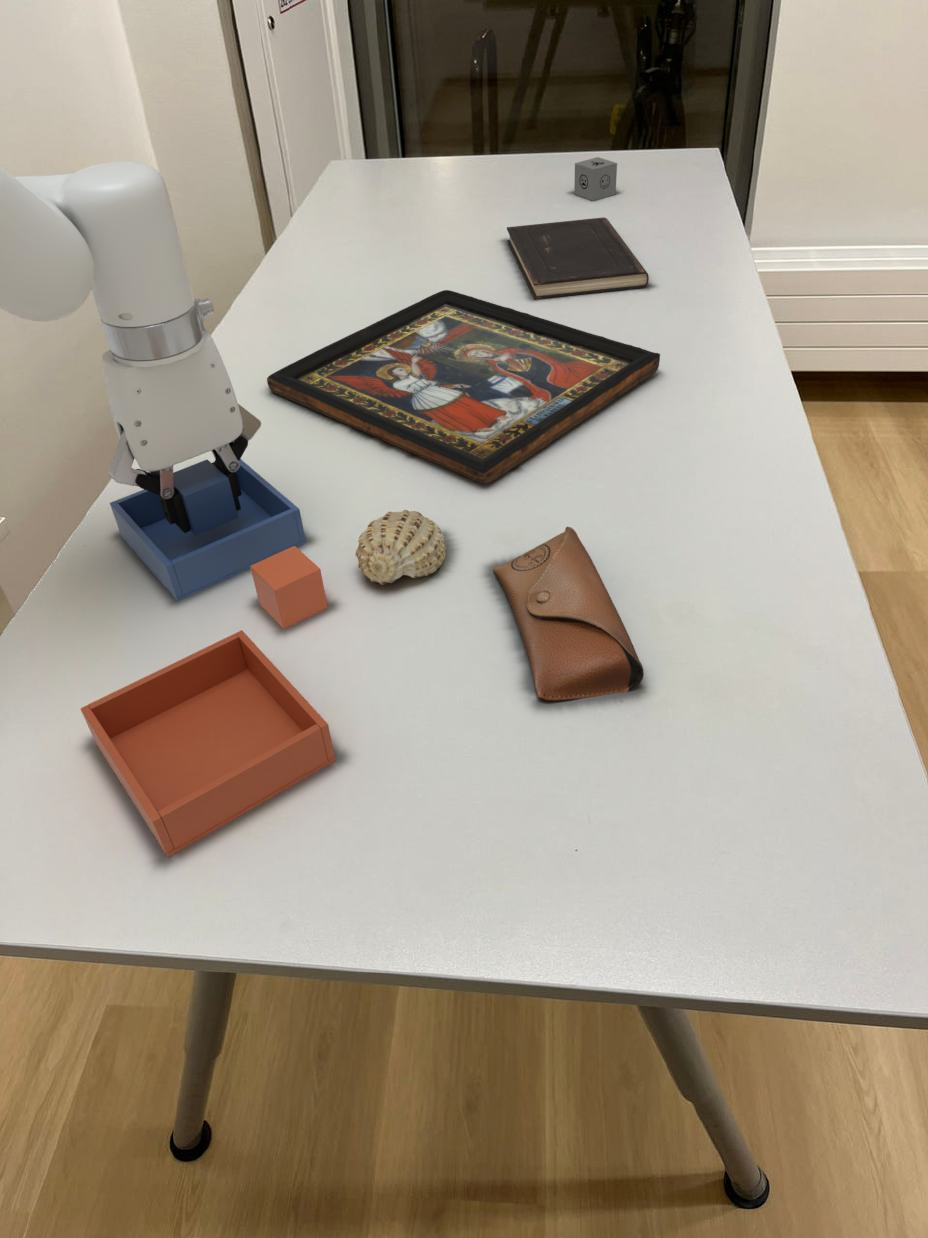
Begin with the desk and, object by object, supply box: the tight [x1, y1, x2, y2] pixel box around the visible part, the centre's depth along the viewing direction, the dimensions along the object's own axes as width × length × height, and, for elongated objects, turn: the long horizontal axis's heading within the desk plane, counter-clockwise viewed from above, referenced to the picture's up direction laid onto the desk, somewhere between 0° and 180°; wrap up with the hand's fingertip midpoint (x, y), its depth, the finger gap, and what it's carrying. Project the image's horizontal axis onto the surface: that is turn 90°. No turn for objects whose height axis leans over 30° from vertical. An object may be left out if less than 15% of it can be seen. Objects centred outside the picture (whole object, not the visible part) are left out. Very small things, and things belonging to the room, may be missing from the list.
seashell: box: [355, 509, 447, 586], centre depth 86 cm, size 8×6×10 cm
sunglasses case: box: [492, 526, 645, 702], centre depth 78 cm, size 18×7×7 cm
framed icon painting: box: [266, 289, 661, 485], centre depth 112 cm, size 38×35×3 cm
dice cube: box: [573, 156, 618, 202], centre depth 162 cm, size 5×5×5 cm
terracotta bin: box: [80, 629, 337, 858], centre depth 69 cm, size 13×13×4 cm
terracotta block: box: [250, 546, 329, 630], centre depth 82 cm, size 4×4×4 cm
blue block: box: [173, 459, 238, 535], centre depth 88 cm, size 4×4×4 cm
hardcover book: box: [506, 217, 649, 300], centre depth 139 cm, size 16×23×2 cm
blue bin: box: [109, 458, 307, 602], centre depth 90 cm, size 13×13×4 cm
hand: (206, 513), depth 89 cm, fingers closed on blue block, 4 cm apart
